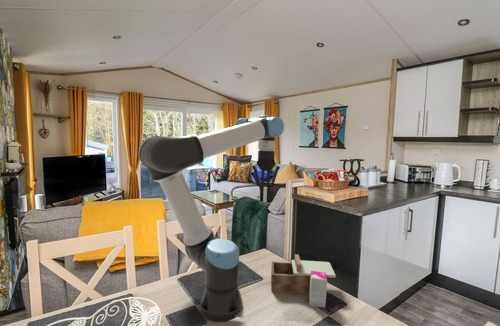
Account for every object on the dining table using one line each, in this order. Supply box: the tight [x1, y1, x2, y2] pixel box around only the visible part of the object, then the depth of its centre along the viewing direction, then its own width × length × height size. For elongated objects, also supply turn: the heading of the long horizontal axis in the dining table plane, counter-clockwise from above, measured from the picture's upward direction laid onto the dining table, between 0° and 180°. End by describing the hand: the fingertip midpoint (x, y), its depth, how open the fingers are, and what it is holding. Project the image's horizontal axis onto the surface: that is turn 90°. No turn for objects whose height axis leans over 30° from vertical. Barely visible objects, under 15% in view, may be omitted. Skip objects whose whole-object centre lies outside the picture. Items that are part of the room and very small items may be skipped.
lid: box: [291, 253, 337, 279], centre depth 106 cm, size 16×11×4 cm
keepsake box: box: [270, 261, 311, 295], centre depth 107 cm, size 16×11×8 cm
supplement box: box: [308, 271, 328, 308], centre depth 96 cm, size 6×6×12 cm
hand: (264, 201), depth 119 cm, fingers closed
